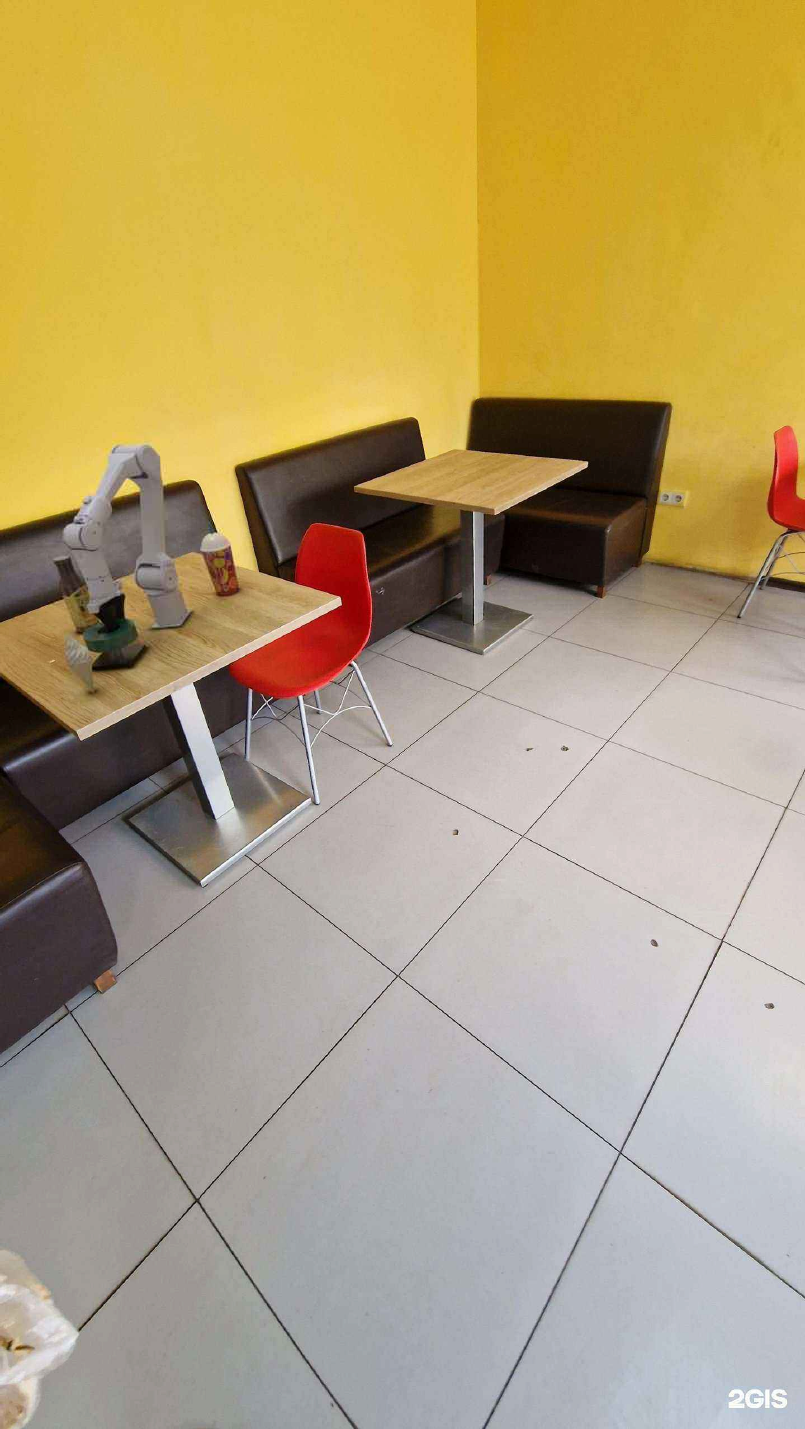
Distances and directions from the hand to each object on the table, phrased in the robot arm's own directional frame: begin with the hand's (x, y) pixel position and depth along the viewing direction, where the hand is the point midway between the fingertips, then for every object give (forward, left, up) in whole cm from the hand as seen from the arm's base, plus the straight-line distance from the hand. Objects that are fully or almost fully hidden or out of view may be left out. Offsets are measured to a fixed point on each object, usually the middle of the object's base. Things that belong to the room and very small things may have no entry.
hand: (117, 628), depth 154 cm
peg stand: (+4, 0, -6) cm, 8 cm away
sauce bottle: (-16, -17, -7) cm, 24 cm away
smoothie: (-34, +17, -6) cm, 38 cm away
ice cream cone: (+19, 0, -7) cm, 20 cm away
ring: (+4, 0, -1) cm, 4 cm away
